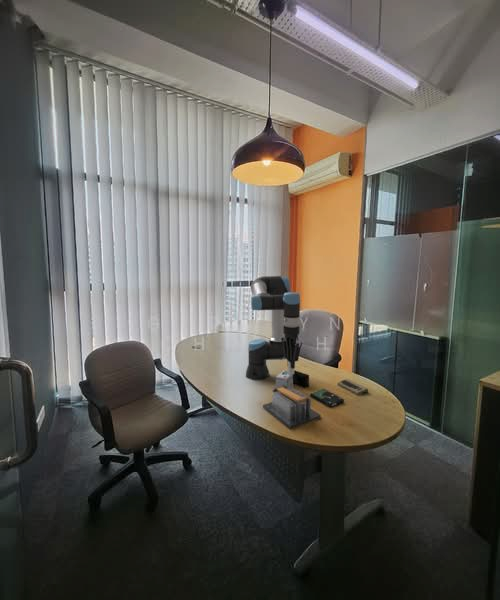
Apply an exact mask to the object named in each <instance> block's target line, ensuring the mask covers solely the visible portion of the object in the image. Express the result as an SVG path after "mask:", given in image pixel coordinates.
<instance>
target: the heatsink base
mask: <svg viewBox="0 0 500 600" xmlns="http://www.w3.org/2000/svg"><path fill="white" fill-rule="evenodd" d="M283 388H285V389H287V386H285V385H283ZM289 391H291V392H293V393H295V394H297V395H299V396H301V397H303V398H304V397H305V398H307V402H304V403H301V402H300V401H299V400H296V401H294V400H292V399H290V398H289V397H287V396H285V395H283V394H281V393H278V392H277V389H276V387H273V389H272V392H273V394H272V397H271V398H272V402H269V403H265V404H263V405H262V409H264V410H265V411H266V412H268V413H269V414H270V415H271V416H273V417H274V419H276V420H277V421H279V422H280V423H281V424H283V425H284V426H285V427H287V428H288V429H289V430H292V429H296V428H298V427H301V426H304V425H307V424H309V423H311V422H315V421H317V420H320V419H321V418H322V415H321V414H320V413H318V412H317V411H315V410H314V409H312V408H311V406H312V405H311V404H312V403H311V401H312V400H311V397H309V396H308V395H305V394H304V393H303V392H301V391H299V390H298V389H295V388H294V387H293V388H291V389H290V388H289Z"/></svg>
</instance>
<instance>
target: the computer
mask: <svg viewBox="0 0 500 600" xmlns="http://www.w3.org/2000/svg"><path fill="white" fill-rule="evenodd" d="M337 386H339V387H341V388H342V389H345V390H347V391H348V392H351V393H352V394H354V395H356V396H361V395H364V394H369V389H368V388H367V387H365V386H363V385H360V384H359V383H357V382H354V381H352V380H351V379H348V378H345V379H343V380H340V381H338V382H337Z"/></svg>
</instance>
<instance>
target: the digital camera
mask: <svg viewBox="0 0 500 600" xmlns="http://www.w3.org/2000/svg"><path fill="white" fill-rule="evenodd" d="M293 385H295V386H298V387H300V388H303V389H307V388H308V387H309V386H310V375H309V374H307V373H303V372H301V371H298V370H294V374H293Z"/></svg>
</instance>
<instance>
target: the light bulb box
mask: <svg viewBox="0 0 500 600" xmlns="http://www.w3.org/2000/svg"><path fill="white" fill-rule="evenodd" d="M283 385H285V386H287V390H289V388H290V389H291V388H294V384H293V374H292V375H289V374H288V370H281V372H279V373H278V374H277V375H276V376H275V388H276V389H277V388H281V387H283ZM277 392H278V391H277ZM278 393H280V392H278Z"/></svg>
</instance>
